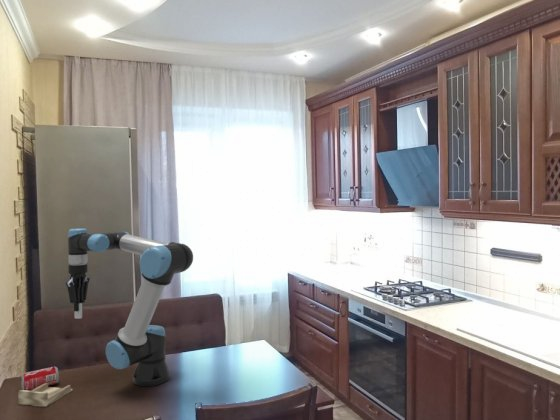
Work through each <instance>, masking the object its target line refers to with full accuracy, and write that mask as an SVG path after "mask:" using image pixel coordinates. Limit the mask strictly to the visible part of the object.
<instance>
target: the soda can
mask: <svg viewBox="0 0 560 420" xmlns="http://www.w3.org/2000/svg"><path fill="white" fill-rule="evenodd" d="M20 377H21V378H20V380H21V381H20V384H21V390H27V391H31V390H33V389H35V388H37V387H39V386H40V385H42V384H44V383H48V387H50V386H52V385H56V384H57V383H59V380H60V374H59V368H58V367H57V366H51V367H45V368H40V369H37V370H31V371H28V372H25V373H23V374H21V376H20Z"/></svg>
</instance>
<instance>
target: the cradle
mask: <svg viewBox="0 0 560 420" xmlns="http://www.w3.org/2000/svg"><path fill="white" fill-rule="evenodd" d="M72 391H74V389H73V388H72V385H71V384H67V385H66V386H64V387H55V386H54V387H53V386H48V383H44V384H42V385H40V386H39V387H37V388H35V389H33V390H28V391H27V390H22V389H19V390H18V391H17V393H18V394H17V397H18V401H17V403H18V405H23V406H24V405H25V406H33V407H43V408H47V407H48V406H50V405H51V404H53V403H54V402H56V401H58V400H60V399H61V398H63V397H64V396H66V395H68V394H69V393H71V392H72Z"/></svg>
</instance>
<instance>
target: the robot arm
mask: <svg viewBox="0 0 560 420" xmlns="http://www.w3.org/2000/svg"><path fill="white" fill-rule="evenodd" d="M67 235H68V236H67V244H68V245H67V246H68V250H67V251H68V253H67V254H68V264H69V265H68V266H67V267H68V270H67V272H68V274H69V275H70V277H69V281H66V282H65V285H66V288H67V291H68V298H69V302H70V304H72V305H73V311H74V312H73V313H74V319H78V320H79V319H80V320H81V319H82V318H83V309H84V308H83V303H86V300H87V295H88V289H89V282H90V279H91V278H90V277H88V276H87V275H86V273H88V272H89V271H88V264H87V263H88V261H89V259H88V252H94V253H103V252H105V251H112V250H117V251H118V250H119V251H123V252H127V253H132V254H135V255H139V256H140V259H139V266H140V267H139V270H140V272H141V274H140V275H141V277H142V282H141V284H140V287H139V289H138V291H137V295H136V297H135V300H134V302H133V304H132V307H131V310H130V312H129V315H128V317H127V320H126V323H125V325H124V327H122V328H120V329H119V331H118V332H117V334H116V337H115V339H114V340H110V341H109V342H107V344H106V346H105V356H106V360H107V361H108V363H109V364H110V366H111V367H113V368H114V369H116V370H123V369H126V368H128V367H131V366H133V365H136V366H135V369H134V372H133V375H132V382H133V384H135V386H140V387H153V386H155V387H156V386H159V385H161V384H164V383H166V382H168V381H169V380H170V370H169V367H168V364H167V362H166V329H165V327H164V326H162V325H155V324H150V323H151V321H152V318H153V316H154V314H155V312H156V309H157V307H158V304H159V301H160V299H161V296H162V294H163V292H164V290H165V287H167V286H169V285H170V284H171V282H172V280H173V278H174V275H176V274H179V273H184V272H186V271H187V270H188V269H190V267H191V266H192V264H193V261H194V253H193V251H192V249H191V248H190V247H189V246H188V245H186V244H185V243H180V242H174V241H171V242H169V243H167V242H163V241H160V240H159V241H158V240H155V239H150V238H146V237H141V236H136V235H132V234H130V233H129V232H128V231H117V232H114V231H113V232H102V233H101V232H99V233H88V229H87V228H70V229H69V230H68V234H67Z"/></svg>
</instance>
